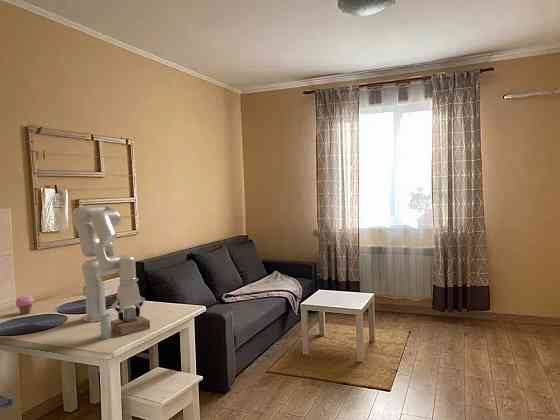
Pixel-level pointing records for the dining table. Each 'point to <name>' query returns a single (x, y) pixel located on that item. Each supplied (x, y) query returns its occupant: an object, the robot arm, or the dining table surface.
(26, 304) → the cupcake
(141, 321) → the socket block
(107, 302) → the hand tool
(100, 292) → the robot arm
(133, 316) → the square peg
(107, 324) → the round peg
